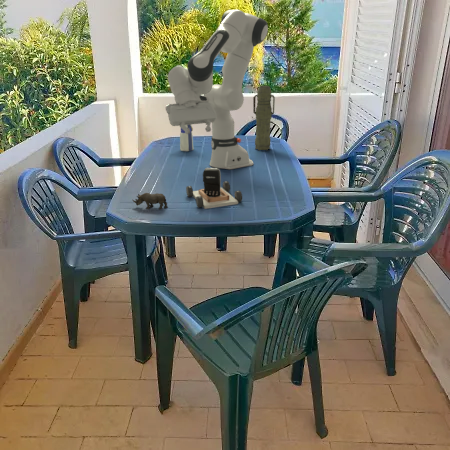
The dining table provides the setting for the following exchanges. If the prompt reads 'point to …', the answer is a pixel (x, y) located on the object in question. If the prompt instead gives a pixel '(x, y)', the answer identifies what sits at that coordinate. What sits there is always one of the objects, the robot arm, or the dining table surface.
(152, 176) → the dining table surface
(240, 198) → the chassis
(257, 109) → the thermos
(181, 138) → the water bottle
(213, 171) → the battery charger
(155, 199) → the rhino figurine
